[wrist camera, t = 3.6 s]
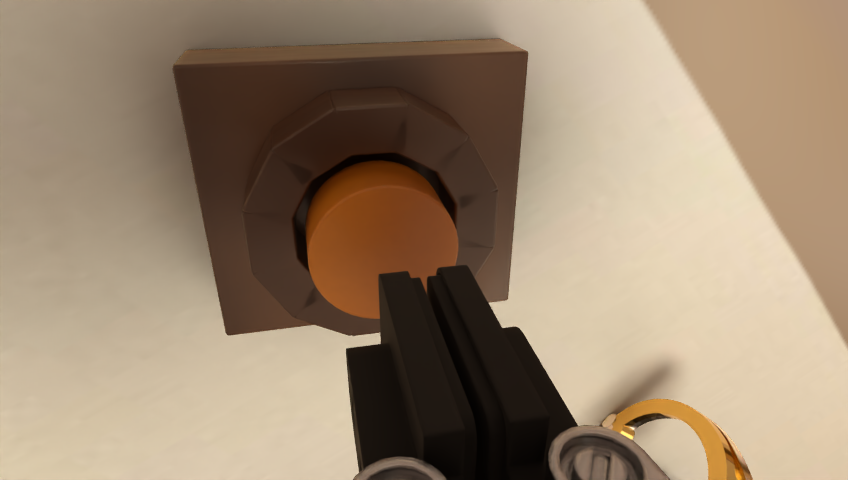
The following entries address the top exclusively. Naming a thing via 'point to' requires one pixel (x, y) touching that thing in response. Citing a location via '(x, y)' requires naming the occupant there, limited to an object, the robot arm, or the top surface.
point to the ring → (723, 456)
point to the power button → (375, 233)
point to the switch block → (345, 157)
